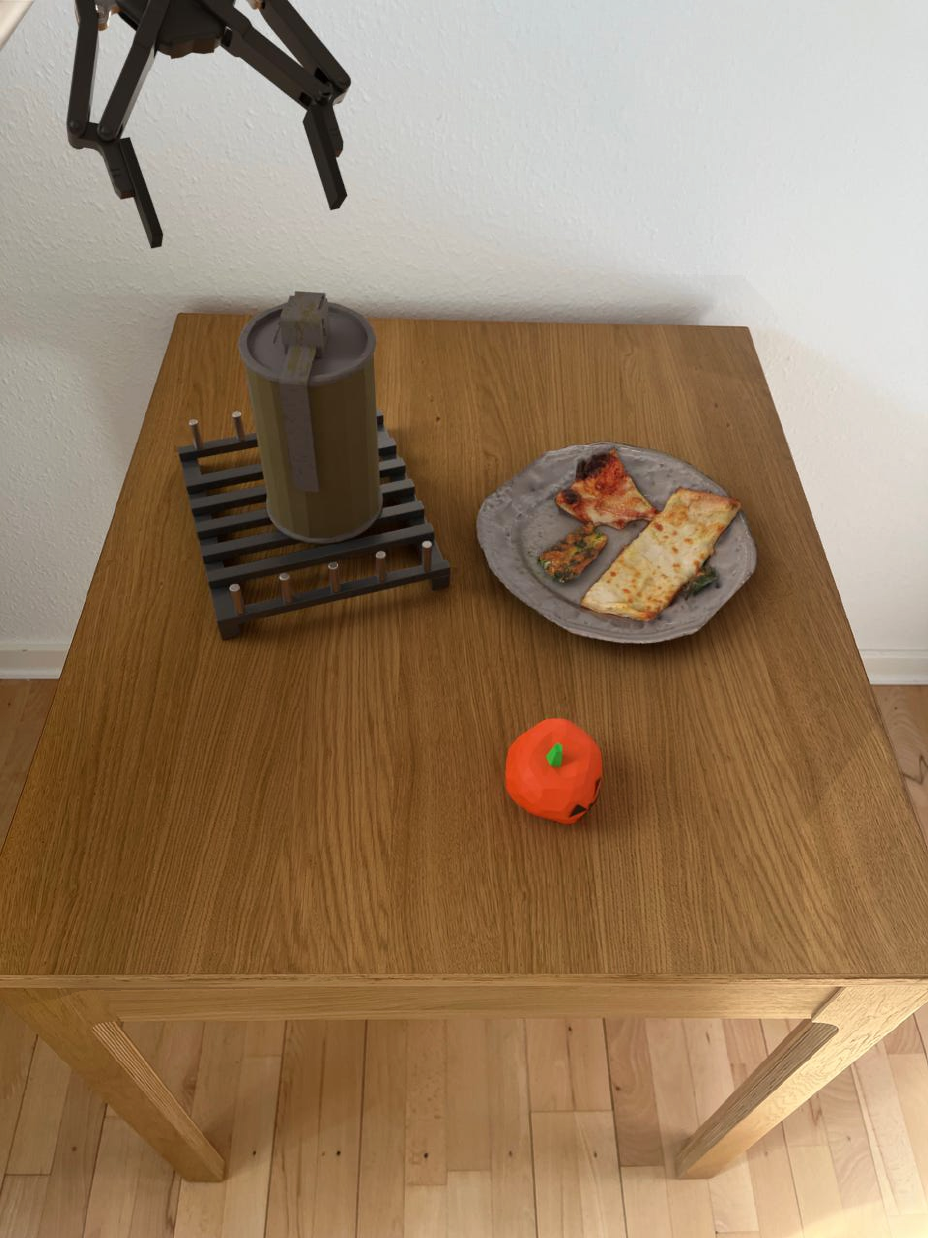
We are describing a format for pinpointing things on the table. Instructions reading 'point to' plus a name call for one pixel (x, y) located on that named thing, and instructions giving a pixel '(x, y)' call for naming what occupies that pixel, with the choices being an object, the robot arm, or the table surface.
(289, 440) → the canister
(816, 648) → the table surface
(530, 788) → the pumpkin
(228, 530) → the dish rack
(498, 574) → the food plate
